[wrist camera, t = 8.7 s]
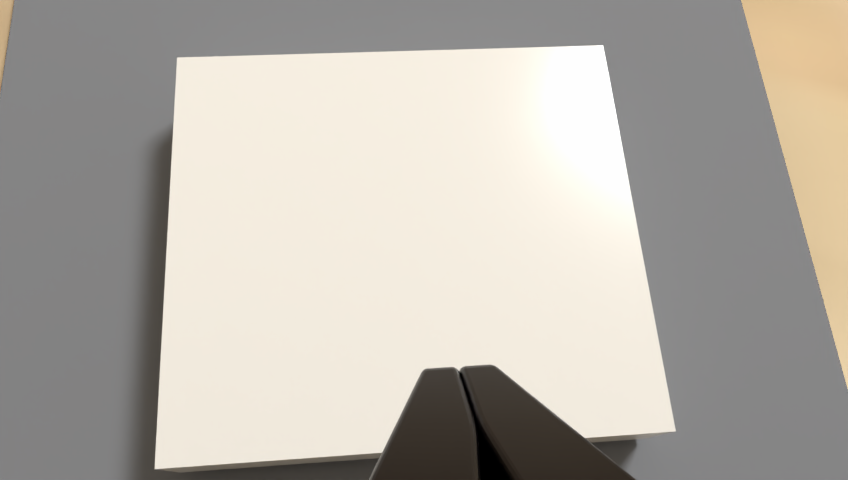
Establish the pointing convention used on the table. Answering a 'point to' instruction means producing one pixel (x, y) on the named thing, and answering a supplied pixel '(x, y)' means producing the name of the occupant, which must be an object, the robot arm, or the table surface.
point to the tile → (396, 249)
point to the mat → (381, 32)
